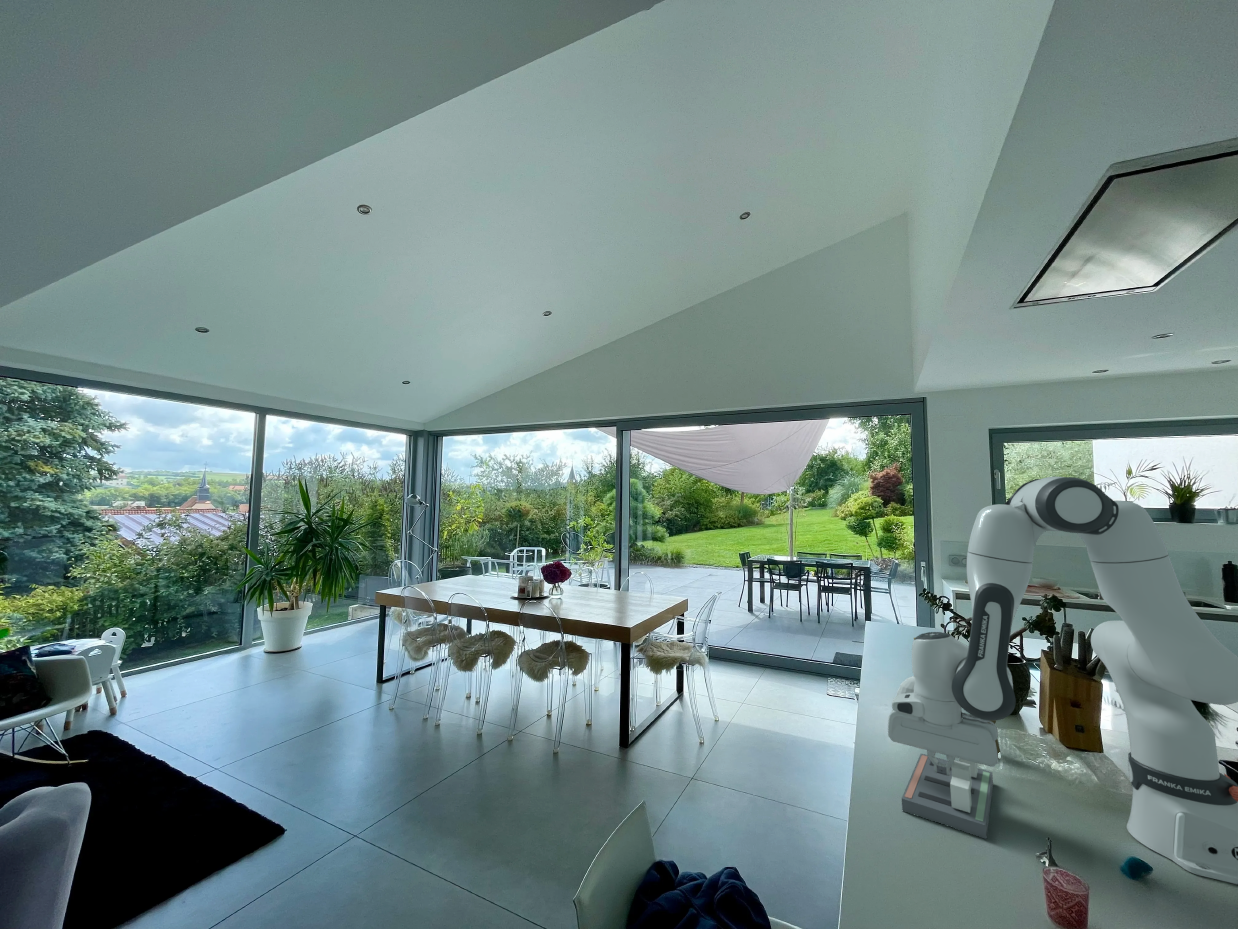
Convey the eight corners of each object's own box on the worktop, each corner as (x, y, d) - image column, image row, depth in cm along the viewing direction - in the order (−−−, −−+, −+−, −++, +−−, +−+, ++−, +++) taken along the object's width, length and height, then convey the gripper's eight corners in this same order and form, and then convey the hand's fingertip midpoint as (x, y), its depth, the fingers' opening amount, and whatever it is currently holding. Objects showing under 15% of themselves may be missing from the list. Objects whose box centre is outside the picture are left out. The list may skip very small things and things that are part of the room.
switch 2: (971, 804, 99) (969, 781, 99) (970, 813, 96) (968, 789, 97) (953, 799, 101) (952, 776, 101) (951, 807, 98) (950, 784, 99)
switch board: (993, 783, 111) (992, 771, 111) (986, 839, 93) (985, 824, 93) (921, 764, 120) (920, 753, 120) (902, 811, 102) (901, 797, 102)
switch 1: (977, 771, 111) (976, 750, 112) (976, 778, 108) (974, 757, 109) (961, 767, 113) (960, 747, 114) (960, 773, 110) (958, 753, 111)
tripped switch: (971, 785, 105) (970, 764, 106) (970, 793, 103) (968, 771, 103) (954, 781, 107) (953, 760, 108) (953, 788, 105) (951, 766, 105)
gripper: (997, 714, 105) (1002, 783, 103) (890, 693, 118) (893, 753, 116) (995, 725, 100) (1001, 796, 98) (884, 701, 113) (888, 764, 111)
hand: (942, 773), depth 108 cm, fingers closed
